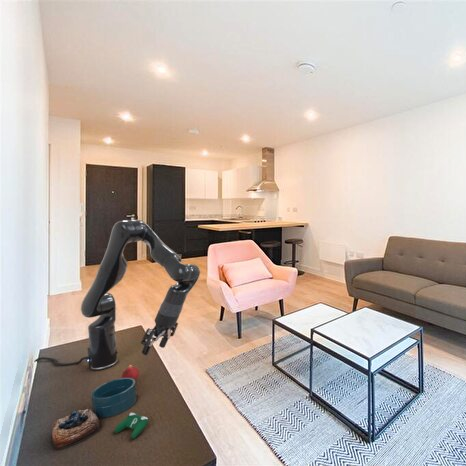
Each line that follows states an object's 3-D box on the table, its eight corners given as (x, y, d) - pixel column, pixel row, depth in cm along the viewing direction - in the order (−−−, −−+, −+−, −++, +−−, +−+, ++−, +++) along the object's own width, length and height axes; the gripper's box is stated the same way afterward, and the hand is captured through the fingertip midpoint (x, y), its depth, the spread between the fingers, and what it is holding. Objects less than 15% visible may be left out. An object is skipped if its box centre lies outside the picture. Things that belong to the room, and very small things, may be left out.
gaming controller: (141, 440, 93) (153, 419, 96) (131, 438, 90) (144, 416, 94) (121, 433, 96) (133, 412, 99) (111, 431, 93) (125, 410, 97)
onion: (130, 389, 116) (129, 370, 116) (118, 387, 117) (117, 368, 117) (143, 380, 122) (142, 362, 121) (131, 379, 123) (130, 361, 122)
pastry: (94, 415, 102) (93, 399, 101) (102, 431, 94) (101, 414, 94) (50, 433, 93) (48, 416, 93) (54, 453, 86) (52, 435, 85)
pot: (83, 416, 101) (81, 397, 100) (114, 394, 113) (112, 377, 112) (116, 418, 100) (115, 399, 99) (144, 395, 112) (143, 378, 112)
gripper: (174, 304, 121) (159, 341, 121) (147, 311, 107) (129, 352, 107) (189, 312, 120) (174, 348, 120) (164, 319, 106) (146, 361, 106)
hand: (153, 350), depth 113 cm, fingers open, 8 cm apart
